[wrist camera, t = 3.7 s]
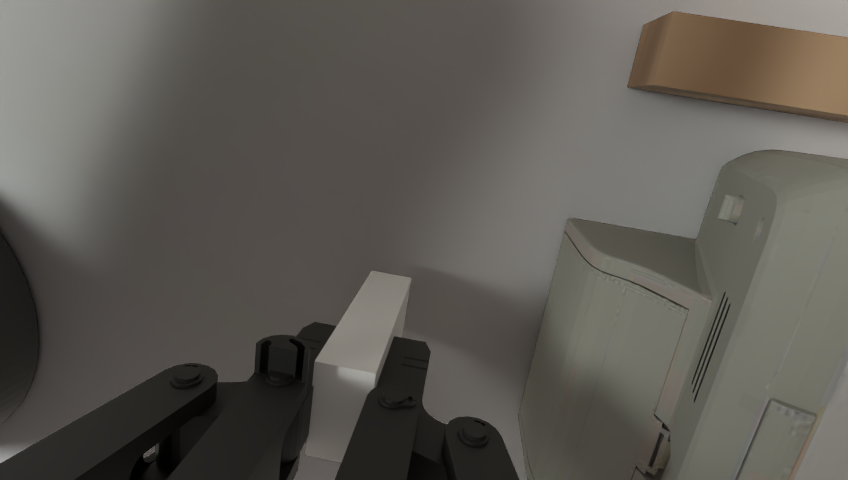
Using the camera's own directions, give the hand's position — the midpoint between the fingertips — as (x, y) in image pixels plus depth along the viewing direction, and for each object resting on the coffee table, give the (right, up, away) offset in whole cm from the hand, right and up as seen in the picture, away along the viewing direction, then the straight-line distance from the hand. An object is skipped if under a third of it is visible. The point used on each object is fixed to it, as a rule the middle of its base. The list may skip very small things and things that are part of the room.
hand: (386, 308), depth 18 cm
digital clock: (+10, -1, +1) cm, 10 cm away
